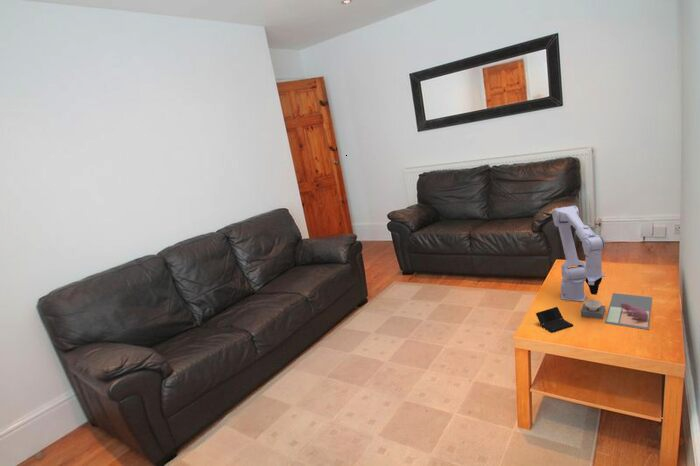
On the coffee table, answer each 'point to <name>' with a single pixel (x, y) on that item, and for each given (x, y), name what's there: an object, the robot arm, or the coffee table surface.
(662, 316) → the coffee table surface
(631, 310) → the video game controller
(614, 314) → the grey flat board
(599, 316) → the button housing
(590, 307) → the button
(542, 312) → the handheld gaming console
